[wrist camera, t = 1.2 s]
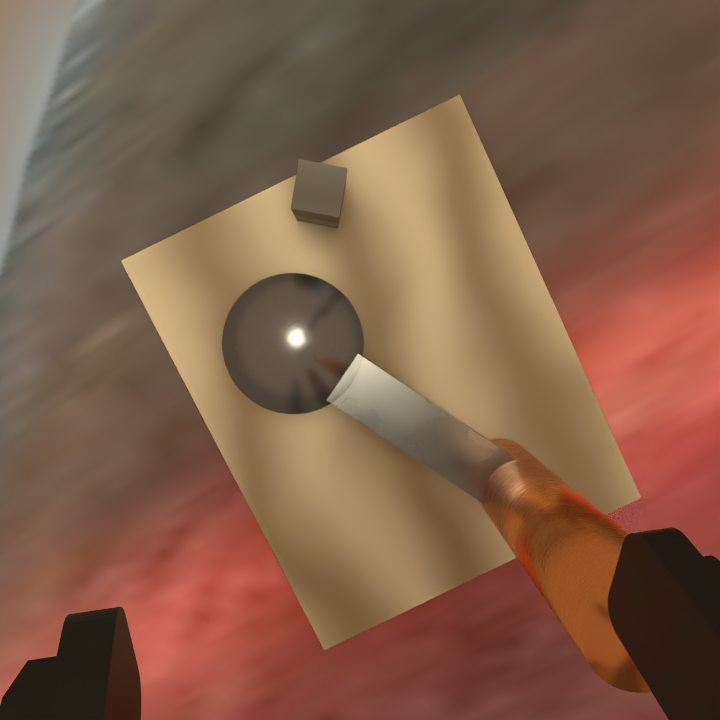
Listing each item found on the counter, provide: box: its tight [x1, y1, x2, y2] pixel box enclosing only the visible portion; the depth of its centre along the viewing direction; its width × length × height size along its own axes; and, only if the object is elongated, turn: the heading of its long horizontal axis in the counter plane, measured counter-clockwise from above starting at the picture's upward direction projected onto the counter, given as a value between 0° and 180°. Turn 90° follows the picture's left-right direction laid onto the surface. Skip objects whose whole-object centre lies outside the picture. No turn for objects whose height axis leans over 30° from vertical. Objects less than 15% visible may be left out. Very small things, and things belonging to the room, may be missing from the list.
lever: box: [222, 273, 652, 693], centre depth 25 cm, size 17×6×16 cm, turn 56°
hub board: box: [121, 95, 641, 650], centre depth 32 cm, size 18×22×6 cm
